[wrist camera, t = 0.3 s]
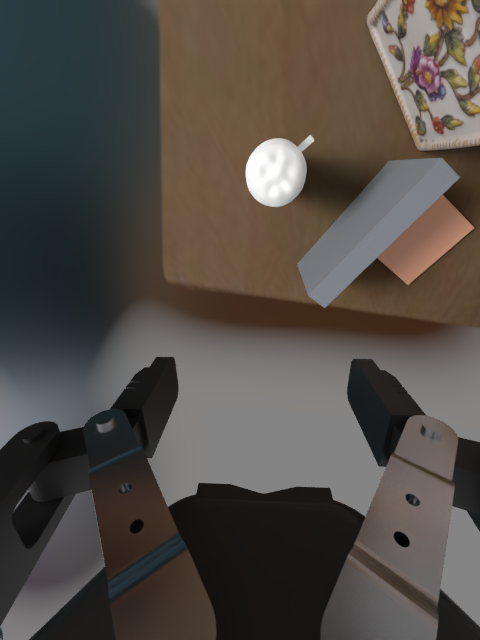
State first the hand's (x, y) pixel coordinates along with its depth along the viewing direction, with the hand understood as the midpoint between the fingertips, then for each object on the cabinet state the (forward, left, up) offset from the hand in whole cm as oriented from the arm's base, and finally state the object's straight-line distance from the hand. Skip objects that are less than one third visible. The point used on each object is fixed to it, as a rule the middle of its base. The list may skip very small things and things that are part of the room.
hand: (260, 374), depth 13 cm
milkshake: (-7, -4, -22) cm, 24 cm away
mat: (-11, +12, -22) cm, 27 cm away
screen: (-8, +5, -22) cm, 24 cm away
